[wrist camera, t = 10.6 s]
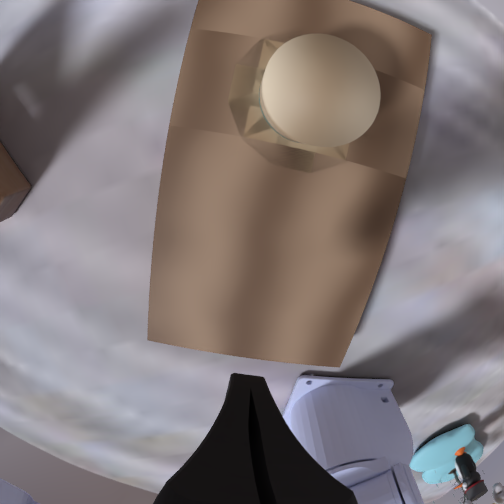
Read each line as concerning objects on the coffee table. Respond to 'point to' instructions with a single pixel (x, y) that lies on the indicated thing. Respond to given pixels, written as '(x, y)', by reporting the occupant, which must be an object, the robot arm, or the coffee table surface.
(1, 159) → the wooden block
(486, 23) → the coffee table surface
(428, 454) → the penguin figurine
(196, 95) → the board
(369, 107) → the beige cylinder
